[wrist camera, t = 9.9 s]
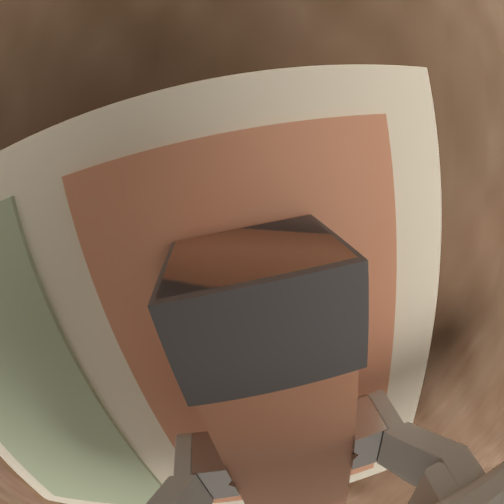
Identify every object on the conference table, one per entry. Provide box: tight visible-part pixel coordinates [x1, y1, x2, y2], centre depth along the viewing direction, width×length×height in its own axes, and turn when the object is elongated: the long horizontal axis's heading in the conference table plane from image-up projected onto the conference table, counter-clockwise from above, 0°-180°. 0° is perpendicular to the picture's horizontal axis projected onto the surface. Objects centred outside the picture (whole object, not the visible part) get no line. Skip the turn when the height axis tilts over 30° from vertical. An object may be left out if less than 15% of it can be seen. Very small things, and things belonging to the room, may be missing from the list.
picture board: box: [0, 64, 441, 504], centre depth 11 cm, size 24×20×1 cm
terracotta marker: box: [148, 215, 369, 504], centre depth 9 cm, size 4×12×3 cm, turn 10°
